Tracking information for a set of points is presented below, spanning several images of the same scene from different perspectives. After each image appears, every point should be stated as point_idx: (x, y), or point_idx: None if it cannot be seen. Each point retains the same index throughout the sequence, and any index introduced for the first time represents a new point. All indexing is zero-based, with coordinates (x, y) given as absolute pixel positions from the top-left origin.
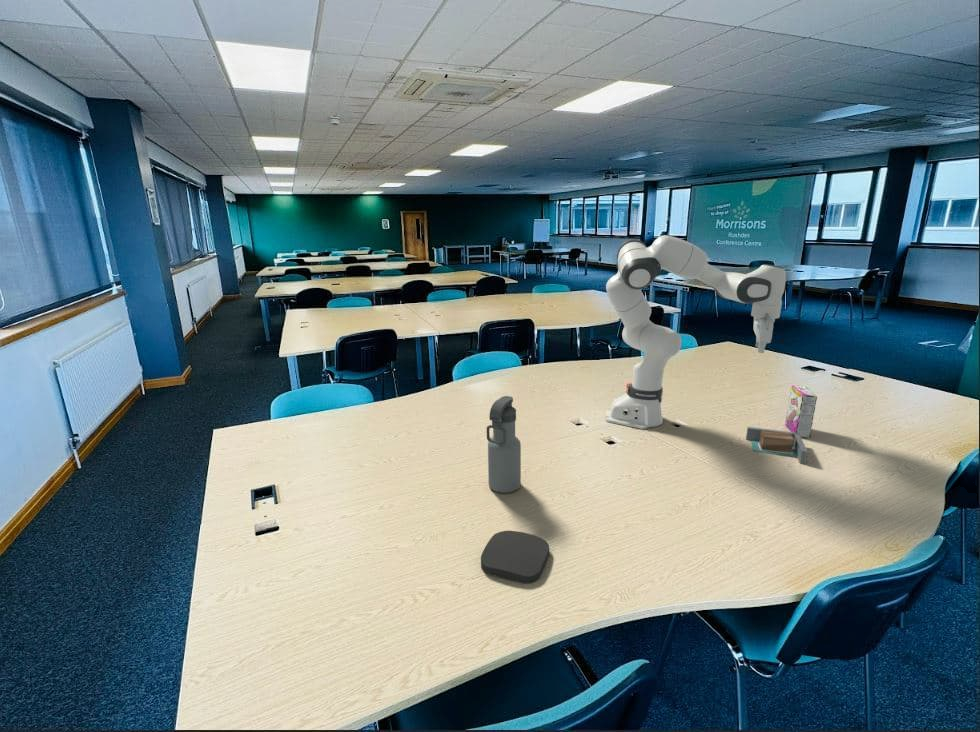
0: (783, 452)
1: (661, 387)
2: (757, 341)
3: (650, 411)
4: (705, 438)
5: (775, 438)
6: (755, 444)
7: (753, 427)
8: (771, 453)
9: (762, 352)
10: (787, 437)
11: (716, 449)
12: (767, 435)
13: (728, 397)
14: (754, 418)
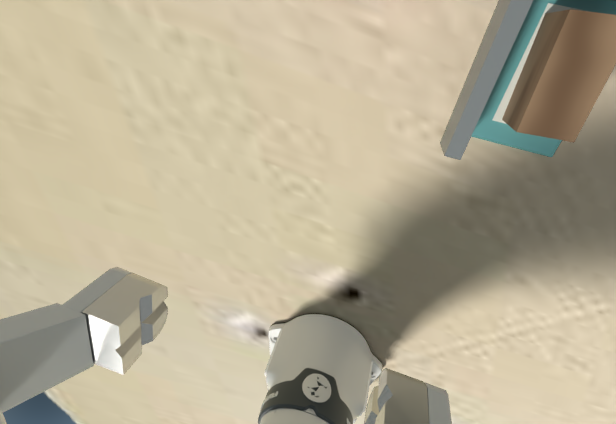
0: None
1: (314, 418)
2: (75, 364)
3: (362, 387)
4: (439, 257)
5: (594, 96)
6: (503, 133)
7: (453, 136)
8: None
9: (441, 397)
10: (610, 41)
11: (519, 256)
12: (567, 124)
13: (91, 77)
14: (262, 47)
